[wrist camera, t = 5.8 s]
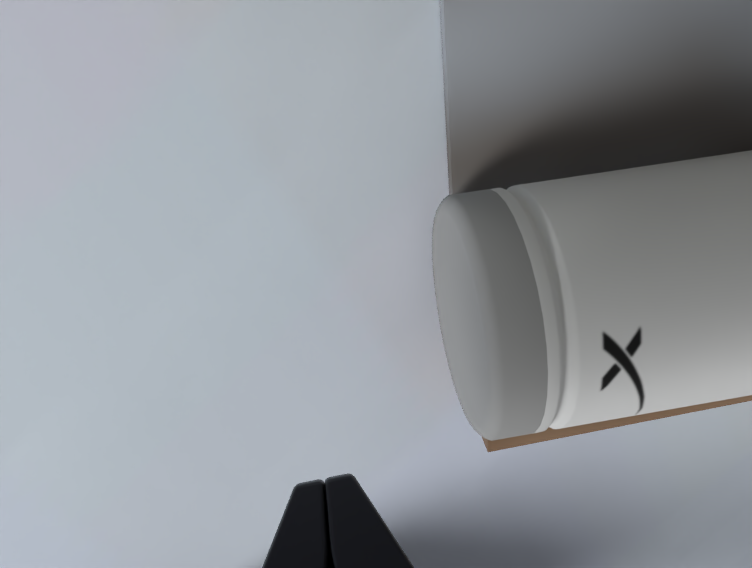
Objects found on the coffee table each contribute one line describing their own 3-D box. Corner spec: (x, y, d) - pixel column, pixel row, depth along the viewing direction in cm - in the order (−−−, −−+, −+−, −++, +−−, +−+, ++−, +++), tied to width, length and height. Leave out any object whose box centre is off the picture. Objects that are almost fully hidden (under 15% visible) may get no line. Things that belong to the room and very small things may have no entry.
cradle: (877, 315, 23) (963, 374, 20) (459, 394, 22) (488, 468, 19) (1094, -236, 15) (1294, -269, 12) (431, -153, 14) (477, -168, 11)
